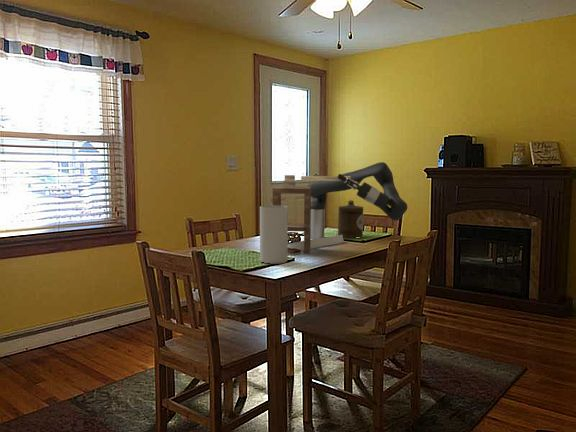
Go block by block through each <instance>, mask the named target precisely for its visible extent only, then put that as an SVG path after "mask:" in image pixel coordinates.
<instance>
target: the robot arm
mask: <svg viewBox="0 0 576 432" xmlns="http://www.w3.org/2000/svg"><path fill="white" fill-rule="evenodd" d="M337 176H338V179H340V180H342V181H312V182H311V181H310V182H309V184H307V186H306V187H311V240H312V239H319V238H325V221H326V220H325V217H326V216H325V215H326V214H325V213H326V211H325V209H326V208H325V206H326V204H327V195H328V194H327V193H335V192H342V191H343V192H344V191H349V190H354V191H355V190H357V192H356V196H357V197H359V198H361V199H363V200H364V201H366V202H368V203H370V204H371V205H374V206H375V207H377V208H379V209H380V210H381V211H382V212H384V214H386V215H387V217H388V218H389V219H391V220H393V221H400V220H401V218H402V217H403V216H404V214H405V213H406V212H407V210H408V203H406V202H405V200H403V198H401V196H400V194H399V192H398V190H397V188H396V186H395V183H394V182H395V181H394V176H393V172H392V170H391V169H390V167H389V166H388V165H387V163H386V162H384V161H380V162H376V163H374V164H371V165H369V166H366V167H363V168H361V169H358V170H353V171H351V172H350V171H349V172H346V173H338V175H337ZM344 176H350V177H351V180H350V179H348V178H346V177H344ZM371 177H374V179H375V180H376V182H377V183H378V184H379V186H380V187H382V190H383V192H382V191H380V190H378V189H377V188H376V187H374V186H372V184H369V183H367V182H366V181H363V180H364V179H366V178H371ZM362 181H363V183H362ZM361 183H362V184H361ZM360 184H361V185H360Z"/></svg>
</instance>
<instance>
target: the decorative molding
mask: <svg viewBox="0 0 576 432" xmlns="http://www.w3.org/2000/svg"><path fill="white" fill-rule="evenodd" d="M344 242H345V241H344V238H343V236H342V235H338V234H337V235H331V236H324V238H319V239H311V244H310V249H309V250H311V249H315V248H316V249H317V248H321V247H327V246H332V245H338V244H339V245H340V244H344ZM288 249H293V250H295V249H296V250H299V251H304V240H301V241H296V242H295V241H294V242H292V243H288Z"/></svg>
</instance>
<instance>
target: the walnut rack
mask: <svg viewBox="0 0 576 432" xmlns="http://www.w3.org/2000/svg"><path fill="white" fill-rule="evenodd" d="M282 194H285V195H286V194H290V195H291V194H293V195H294V194H299V195H301V194H302V195H303V196H304V197H303V198H304V199H303V201H304V203H303V208H304V209H303V211H304V212H303V216H304V217H303V223H300V222H297V223H293V222H288V232H303V241H304V250H303V254H304V255H305V254H307V255H308V254H310V250H311V249H310V244H311V240H312V239H311V202H312V197H311V187H307V186H295V187H283V186H274V187H273V188H272V205H278V206H282Z"/></svg>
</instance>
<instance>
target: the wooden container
mask: <svg viewBox="0 0 576 432" xmlns="http://www.w3.org/2000/svg"><path fill="white" fill-rule="evenodd" d="M354 202H355V201H353V200H350V199H349V200H348V201H347V205H340V206H338V217H337V218H338V219H337V220H338V221H337V235H342V236H343V237H345V238H344V239H346V238H356V237H362V236H363V235H364V234H363V233H364V232H363V231H364V230H363V229H364V206H362V205H361V206H360V205H355V204H354ZM362 238H363V237H362Z"/></svg>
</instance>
